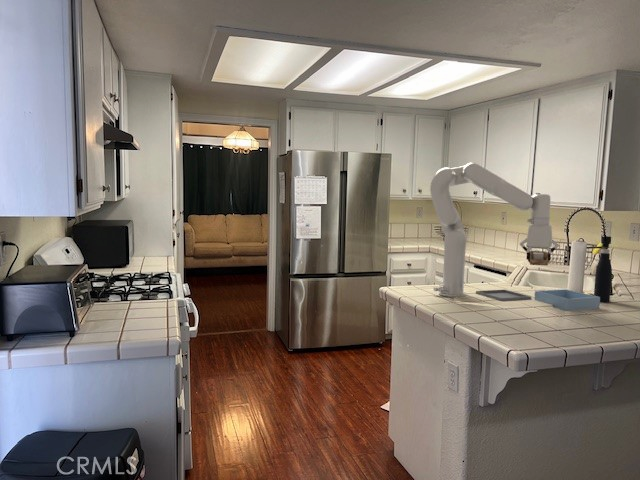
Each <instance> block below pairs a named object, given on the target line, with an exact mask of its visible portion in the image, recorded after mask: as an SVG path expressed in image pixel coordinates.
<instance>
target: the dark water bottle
mask: <svg viewBox="0 0 640 480" xmlns="http://www.w3.org/2000/svg"><path fill="white" fill-rule="evenodd" d="M603 236H605V235H603ZM603 236H600V237H601V240H600V243H601V244H602V246H601V247H602V249H601V250H600V256H599V260H598V261H597V265H596V268H595V277H594V289H593V290H594V291H593V296H598V297H600V303H610V301H611V300H610V299H611V298H610V297H611V288H612V275H613V274H612V273H613V270H612V269H613V268H612V263H611V260H610V257H611V254H610V251H611V250H610V249H609V248H610V244H612V236H608V235H607V236H605V237H606V242H605V237H603Z"/></svg>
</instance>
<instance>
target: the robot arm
mask: <svg viewBox="0 0 640 480" xmlns="http://www.w3.org/2000/svg"><path fill="white" fill-rule="evenodd" d="M468 183H472V184H473V185H474V186H477V187H478V188H479V189H481V190H482V191H485V192H486V193H488V194H489V195H492V196H494V197H497V198H499V199H501V200H503V201H505V202H506V203H508V204H510V205H511V206H513V207H514V208H515V209H516V210H517V211H522V212H524V211H529V210H530V212H531V213H530V218H529V219H527V220H526V221H527V223H529V225H528V227H527V232H526V233H527V234H526V238H525V239H523V240H522V241H521V242H519V246H520V247H521V248H522V249H523V250H524V251H525V252H526V260H527V262H528V263H529V262H530V251H532V250H531V249H532V248H535V249H536V248H541V249H545V250H546V252H547V253H548V264H549V263H550V261H551V257H552V256H551V254H552V253H554V252H555V251H556V249H558V247H559V246H560V245H559V243H558V242H557V241H556V240H554V239H553V230H552V229H553V228H552V225H550V215H551V196H550V195H549V194H546V193H545V194H543V193H536V194H529V193H527V192H525V191H524V190H522V189H520V188H519V187H517V186H515V185H513V184H512V183H510V182H508V181H507V180H505V179H504V178H502V177H500V176H498V175H497V174H495V173H493V172H492V171H490V170H488V169H486V168H485V167H483V166H482V165H480V164H478V163H476V162H468V163H467V164H465V165H462V166H458V167H457V166H456V167H452V168H450V167H442V168H441V169H439V170H438V171H437V172H436V173H435V175H434V176H433V177H432V179H431V182H430V185H429V186H430V189H429V191H430V196H431V200H432V203H433V206H434V210H435V212H436V214H437V216H436V217H437V220H438V222H439V223H440V225H441V229H442V232H443V235H444V248H443V251H444V252H443V271H442V272H443V273H442V284H440V286H434V287H433V291H434V292H438V294H439V295H440V296H443V297H449V298H456V297H458V296H460V297H461V296H462V297H463V296H467V293H466V292H464V287H465V286H464V283H465V267H466V248H467V246H466V245H467V235H466V231H465V229H464V225H463V222H462V220H461V219H462V218H461V217H460V214H459V211H458V210H457V209H456V207H455V205H454V202H453V198H452V194H451V192H450V187H453V186H459V185H460V186H461V185H465V184H468ZM525 244H526V245H527V247H526V246H525ZM552 244H553V247H552Z"/></svg>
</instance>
